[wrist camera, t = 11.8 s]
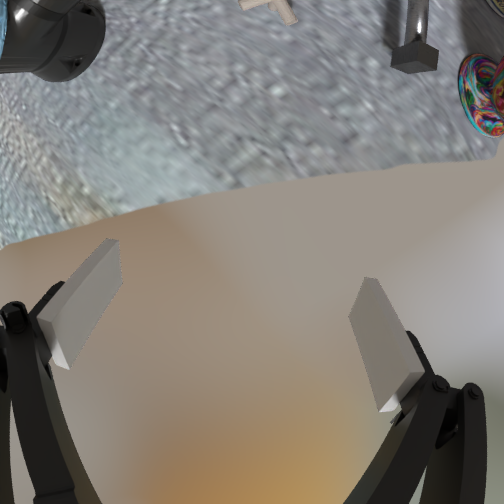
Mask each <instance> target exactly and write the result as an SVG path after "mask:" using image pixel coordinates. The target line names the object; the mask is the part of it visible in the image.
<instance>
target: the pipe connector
mask: <svg viewBox="0 0 504 504" xmlns="http://www.w3.org/2000/svg"><path fill="white" fill-rule="evenodd" d="M238 3H239V5H240V7H241V9H242V10H243V11H245V10H247V9H250V8H253V7H256V6H259V5H262V4H265V3H268V8H269V9H270V10H272V11H278V12H279V14H280V16H281V18H282V19H283V21H284V23H285V25H291V24H294V23H296V22H297V21H298V20H297V18H296V16H295V14H294V13H293V11H292V9H291V7H290V6H289V4H288V2H287V1H286V0H238Z"/></svg>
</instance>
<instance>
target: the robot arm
mask: <svg viewBox="0 0 504 504" xmlns="http://www.w3.org/2000/svg"><path fill="white" fill-rule="evenodd" d="M80 1H81V0H0V74H4V73H20V72H31V73H33V74H35V75H36V76H38V77H40V78H42V79H43V80H45V81H49V82H65V81H69V80H71V79H73V78H75V77H77V76H79V75H80V74H81V73H82V72H84V71H85V70H86V69H87V68H88V67H89V66H90V64H91V63H92V62H93V60H94V59H95V57H96V56H97V54H98V52H99V50H100V48H101V46H102V43H103V39H104V35H105V22H104V18H103V16H102V14H101V13H100V12H99V11H98V10H97V9H96V8H94V7H92V6H90V5H87V4H83V3H79V2H80ZM121 285H122V274H121V262H120V249H119V240H114V239H108V238H106V239H105V240H104V241H103V242H102V244H101V245H100V246H99V247H98V248H97V249H96V250H95V251H94V252H93V253H92V254H91V255H90V256H89V257H88V258H87V259H86V260H85V261H84V262H83V263H82V265H81V266H80V267H79V268H78V269H77V270H76V271H75V272H74V273H73V274H72V275H71V277H70V278H69V279H68V280H67V281H66V282H63V281H60V282H58V283H57V284H55V285H53V286H52V287H51V288H50V289H49V290H48V291H47V293H46V294H45V295H44V296H43V297H42V299H41V300H40V301H39V302H38V303H37V304H36V305H35V306H34V308H33V309H32V310H31V311H30V312H29V314H28V313H27V310H26V307H25V305H24V304H23V303H22V302H19V301H14V302H10V303H7V304H6V305H5V306H3V307H2V309H1V310H0V320H1V322H2V324H3V326H0V504H15V503H14V496H13V488H12V478H11V466H10V440H9V439H10V436H9V435H10V407H11V401H12V407H13V412H14V418H15V423H16V427H17V432H18V436H19V440H20V444H21V448H22V452H23V456H24V459H25V462H26V466H27V469H28V472H29V475H30V478H31V481H32V483H33V486H34V489H35V494H36V496H35V497H34V499H33V503H34V504H102V503H101V501H100V499H99V497H98V495H97V493H96V491H95V490H94V488H93V486H92V484H91V481H90V479H89V477H88V475H87V473H86V471H85V469H84V466H83V464H82V462H81V460H80V457H79V455H78V453H77V450H76V448H75V445H74V442H73V440H72V437H71V434H70V432H69V429H68V426H67V423H66V420H65V418H64V414H63V411H62V408H61V405H60V401H59V398H58V394H57V391H56V387H55V383H54V380H53V375H52V371H51V367H50V365H49V363H48V362H49V360H50V358H51V357H53V359H54V361H55V363H56V365H58V366H60V367H63V368H66V369H68V370H70V369H71V367H72V365H73V364H74V362H75V360H76V358H77V356H78V355H79V353H80V351H81V349H82V347H83V346H84V344H85V343H86V341H87V339H88V338H89V336H90V334H91V332H92V331H93V329H94V327H95V326H96V324H97V322H98V321H99V319H100V318H101V316H102V314H103V313H104V311H105V310H106V308H107V307H108V305H109V303H110V302H111V300H112V299H113V297H114V296H115V294H116V293H117V291H118V290H119V288H120V287H121ZM349 319H350V322H351V325H352V328H353V331H354V334H355V336H356V340H357V343H358V346H359V349H360V352H361V355H362V358H363V361H364V364H365V368H366V371H367V374H368V377H369V380H370V384H371V387H372V391H373V394H374V397H375V401H376V404H377V408H378V412H385V411H393V410H394V409H395V408H396V407H397V406H398V404H399V403H400V405H401V408H402V410H401V411H400V412H399V413H398V414H397V415H396V416H395V418H394V419H393V420H392V421H391V422H390V423H391V424H392V423H393V422H394V423H393V425H392V427H391V429H390V431H389V432H388V434H387V436H386V438H385V440H384V442H383V443H382V445H381V447H380V449H379V450H378V452H377V454H376V455H375V457H374V459H373V460H372V462H371V464H370V465H369V467H368V468H367V470H366V471H365V473H364V475H363V476H362V478H361V479H360V481H359V482H358V484H357V485H356V486H355V488H354V489H353V491H352V492H351V494H350V495H349V496H348V498H347V499H346V500H345V502H344V503H343V504H409V502H410V500H411V498H412V496H413V494H414V492H415V490H416V488H417V486H418V484H419V482H420V479H421V477H422V475H423V473H424V470H425V468H426V466H427V468H426V474H425V479H424V484H423V489H422V493H421V498H420V502H419V504H484V498H485V488H486V472H487V432H486V416H485V415H486V414H485V403H484V396H483V392H482V390H481V389H480V387H478V386H477V385H476V384H474V383H467V384H465V386H464V387H463V388H462V389H456V388H452V387H450V385H449V383H448V382H447V381H446V379H444V378H443V377H442V376H439V375H435V374H434V372H433V370H432V368H431V365H430V363H429V361H428V359H427V357H426V355H425V354H424V351H423V349H422V347H420V346H421V345H420V343H419V341H418V340H417V338H416V337H415V336H414V335H413V334H412V333H411V332H410V331H405V329H404V327H403V325H402V323H401V322H400V320H399V318H398V316H397V314H396V312H395V310H394V309H393V307H392V305H391V303H390V301H389V299H388V297H387V296H386V294H385V292H384V290H383V289H382V287H381V285H380V283H379V282H378V280H377V279H374V278H367V277H365V278H364V281H363V283H362V286H361V288H360V291H359V293H358V296H357V298H356V301H355V303H354V305H353V308H352V310H351V312H350V314H349ZM457 427H458V428H457Z"/></svg>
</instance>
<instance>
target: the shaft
mask: <svg viewBox="0 0 504 504" xmlns="http://www.w3.org/2000/svg"><path fill="white" fill-rule="evenodd" d="M428 12H429V0H408V11H407V23H406V33H405V41H404V46H401V47H398V48H395V49H393V52H392V59H391V66H390V67H392V68H395V69H397V70H400V71H402V72H405V73H407V74H411V73H418V72H426V71H435V70H437V63H438V54H439V50H437V49H435V48H434V47H432V46H430V45H428V44H426V39H427V28H428Z"/></svg>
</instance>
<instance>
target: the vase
mask: <svg viewBox="0 0 504 504" xmlns="http://www.w3.org/2000/svg"><path fill="white" fill-rule="evenodd" d="M459 91H460V97H461V101H462V105H463V108H464V110H465V113H466V115H467V117H468V119H469V121H470V122H471V124H472V125H473V126H474V127H475V128H476V130H477V131H479V132H480V133H481V134H483V135H484V136H487V137H490V138H496V137H499V136H501V135H503V134H504V56H503V58H502V59H501V61H500V62H499V64H498V63H497V62H496V61H494V60H493V59H492V58H490V57H489V56H487V55H484V54H473V55H471V56H469V57H468V58H467V59H466V60H465V61H464V63H463V65H462V67H461V70H460V75H459Z"/></svg>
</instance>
